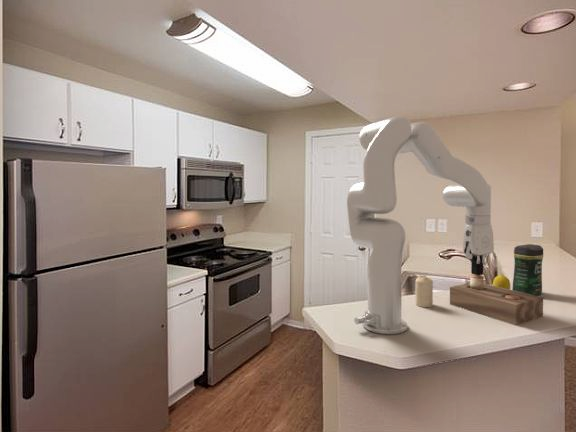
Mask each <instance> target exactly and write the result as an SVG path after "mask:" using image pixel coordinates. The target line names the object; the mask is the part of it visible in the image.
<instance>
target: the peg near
mask: <svg viewBox="0 0 576 432" xmlns="http://www.w3.org/2000/svg"><path fill="white" fill-rule="evenodd" d="M505 297H506V298H510V299H514V300H519V299H521V298H520V297H519V296H515V295H506V296H505Z"/></svg>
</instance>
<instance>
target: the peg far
mask: <svg viewBox="0 0 576 432" xmlns="http://www.w3.org/2000/svg"><path fill="white" fill-rule="evenodd" d="M469 279H470V280H469V283H470V288H471V289H475V290H483V283H484V275H475V274H471V275H470V276H469ZM484 284H485V283H484Z"/></svg>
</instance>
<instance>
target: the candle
mask: <svg viewBox="0 0 576 432" xmlns="http://www.w3.org/2000/svg"><path fill="white" fill-rule="evenodd" d="M433 287H434V281H433V280H432V279H431V278H430V277H429V276H427V275H420V276H418V277H417V278H416V279H415V290H414V291H415V305H416V306H417V307H421V308H431V307H433V302H434V299H433V297H434V295H433V289H434V288H433Z"/></svg>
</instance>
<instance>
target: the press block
mask: <svg viewBox="0 0 576 432" xmlns="http://www.w3.org/2000/svg"><path fill="white" fill-rule="evenodd" d="M506 295H515V296H519V297H520V298H521V299H519V300H514V299H510V298H506V297H505V296H506ZM449 305H451V306H454V307H457V308H460V307H461V308H460V309H463V308H464V309H463V310H466V309H467V310H466V311H469V310H470V311H469V312H473V313H476V314H479V315H481V316H486V317H488V318H491V319H495V320H498V321H501V322H504V323H506V324H507V323H508V324H510V325H514V326H517V325H520V324H525V323H527V322H531V321H533V320H536V319H537V320H538V319H539V318H542V317H544V297H542V296H539V295H531V294H527V293H522V292H518V291H514V290H512V289H510V290H509V289H505V288H501V287H497V286H493V284H492V285H491V284H487V283H483V290H475V289H471V288H470V282H469V283H463V284H459V285H453V286H449Z"/></svg>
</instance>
